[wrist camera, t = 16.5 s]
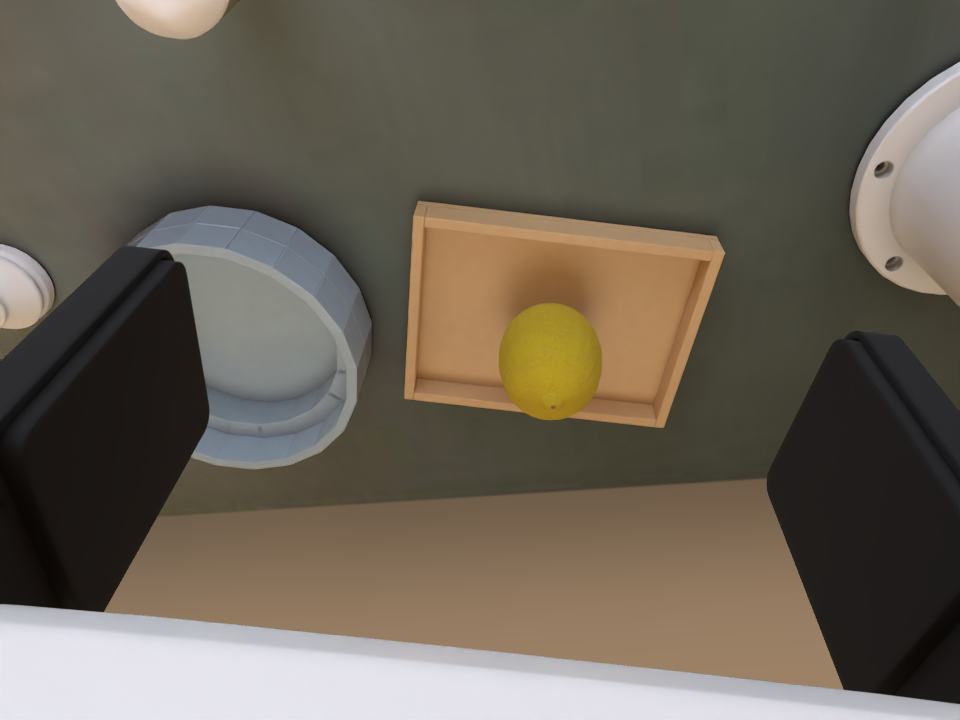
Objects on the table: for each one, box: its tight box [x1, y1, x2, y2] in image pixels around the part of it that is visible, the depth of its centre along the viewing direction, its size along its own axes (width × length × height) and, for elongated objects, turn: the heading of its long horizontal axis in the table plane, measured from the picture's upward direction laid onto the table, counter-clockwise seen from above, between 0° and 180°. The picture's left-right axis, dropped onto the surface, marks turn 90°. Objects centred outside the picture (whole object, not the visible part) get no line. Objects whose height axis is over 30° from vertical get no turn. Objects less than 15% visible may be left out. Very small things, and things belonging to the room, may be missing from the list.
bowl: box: [126, 205, 372, 469], centre depth 40 cm, size 15×15×5 cm
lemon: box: [499, 303, 602, 420], centre depth 37 cm, size 6×6×8 cm
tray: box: [404, 201, 725, 428], centre depth 40 cm, size 16×12×2 cm
